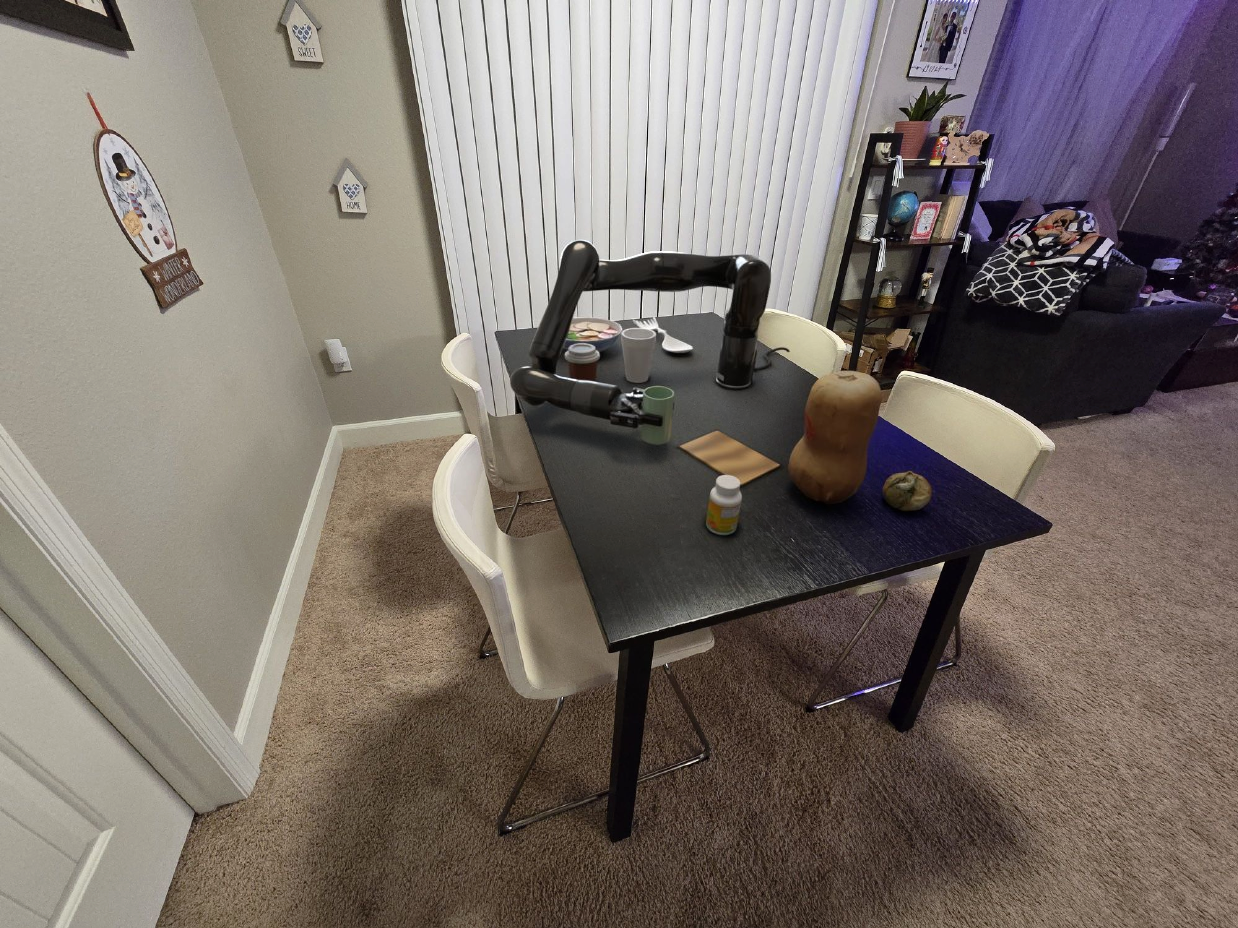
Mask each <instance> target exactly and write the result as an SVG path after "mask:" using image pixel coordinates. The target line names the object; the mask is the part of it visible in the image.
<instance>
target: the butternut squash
mask: <svg viewBox="0 0 1238 928" xmlns="http://www.w3.org/2000/svg"><path fill="white" fill-rule="evenodd" d="M882 402H883V396H882V390H881V386H880V383H879V382H878V380H876V379H875V378H874V377H873V376H871V375H870V374H868V373H864V372H860V371H855V370H838V371H834V372H831V373H827V374H824V375H822V376H821V377H819V378H817V380H816V381H815V382H814V384H813V385H812V386H811V389H810V392H809V395H808V397H807V401H806V404H805V407H804V420H803V421H804V422H803V423H804V427H803V428H804V432H803V433H804V434H803V436H802V438H800V439H799V441H797V443H796V445H795V446H794V447H793V450H792V452H791V453H790V457H789V460H788V464H787V471H788V475H789V477H790V480H791V482H792V483H794V485H795V486H796V487H797V488H798V489H799V490H800V491H801V492H802V493H803V495H804V496H806V497H807V498H809V499H811V500H814V501H816V502H822V503H825V504H826V505H834V504H839V503H843V502H844V501H846V500H847V499H849V498H851V497H853V495H855V494H856V493H857V492H858V491H859V489H860V488H861V485H862V484H863V482H864V480H865V479H866V478H865V477H866V475H867V467H868V465H867V464H868V446H869V443H870V440H871V437H872V436H873V433H874V431H875V430H876V427H877V423H878V420H879V419H878V418H879V413H880V409H881V404H882Z"/></svg>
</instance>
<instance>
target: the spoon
mask: <svg viewBox="0 0 1238 928" xmlns="http://www.w3.org/2000/svg"><path fill="white" fill-rule="evenodd" d="M632 323H633V324H634V325H635V326H637V328H645V329H650V330H652V331H654V332H657V333H658V334H659V335H663V336H664V338H663V341H662V343H661V347H662V348H663V349H664V350H665V351H667V352H671V353H674V354H685V353H688V352H691V351H693V350H694V346H692V345H690V344H689V343H686V342H684V341H682V340H679V339H677V338H675V337H672V336H670V335H669V334H668V333H667V330H666V329H662V328H660V327H659V323H658V321H657V318H656V317H655V316H653V318H650V320H649V319H647V321H645V320H643V322H642V321H641V320H635V319H632Z"/></svg>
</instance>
